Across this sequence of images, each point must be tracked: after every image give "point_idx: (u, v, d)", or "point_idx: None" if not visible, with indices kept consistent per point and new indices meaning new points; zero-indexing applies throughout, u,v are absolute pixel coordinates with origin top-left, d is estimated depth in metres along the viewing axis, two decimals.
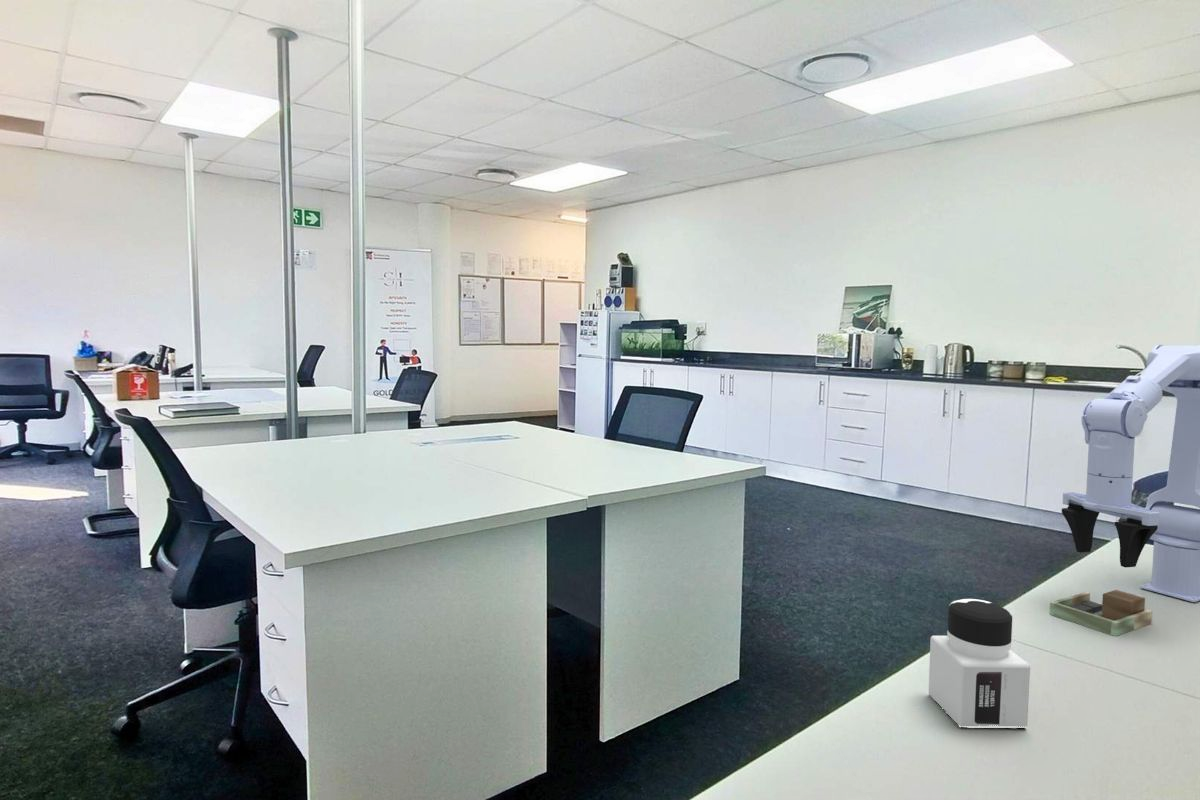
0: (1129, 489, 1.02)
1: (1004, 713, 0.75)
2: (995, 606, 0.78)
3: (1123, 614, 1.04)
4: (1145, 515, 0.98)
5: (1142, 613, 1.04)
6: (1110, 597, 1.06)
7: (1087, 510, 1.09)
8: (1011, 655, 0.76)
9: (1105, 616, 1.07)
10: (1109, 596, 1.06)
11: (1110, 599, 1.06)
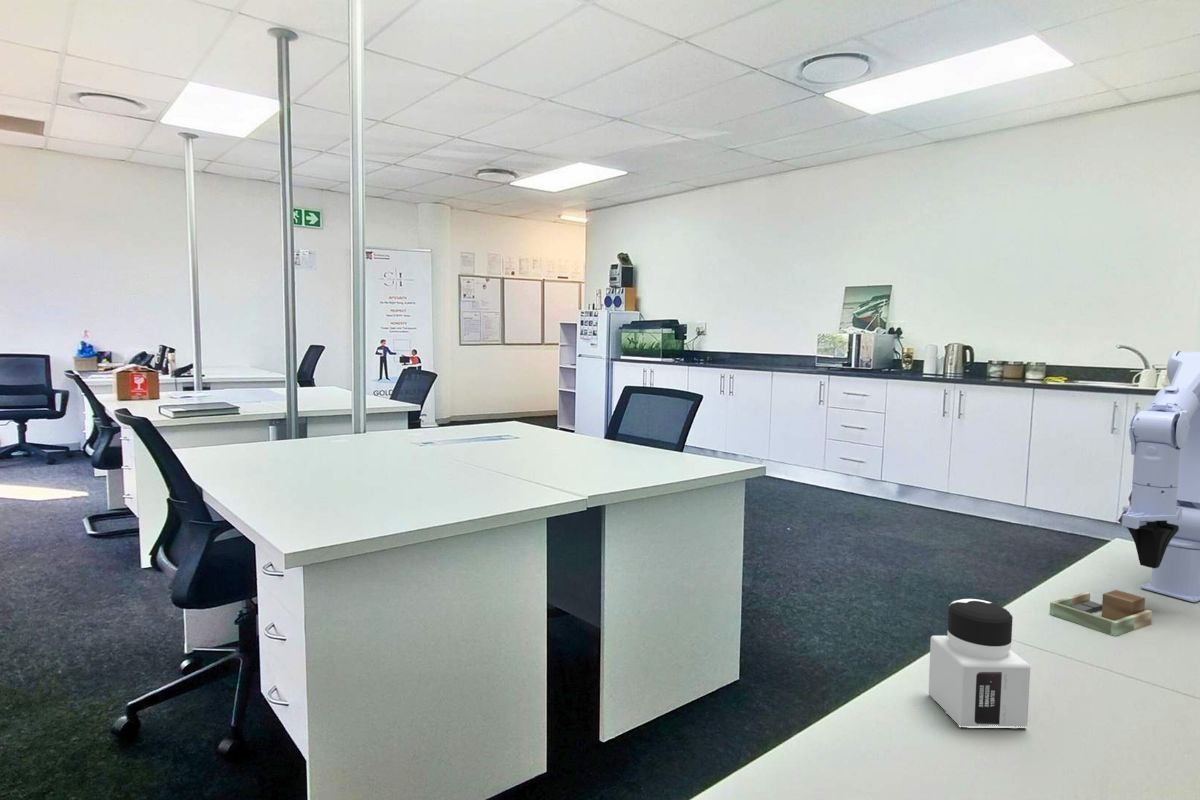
0: (1150, 498, 1.06)
1: (1004, 713, 0.75)
2: (996, 606, 0.78)
3: (1123, 614, 1.04)
4: None
5: (1142, 613, 1.04)
6: (1110, 597, 1.06)
7: None
8: (1011, 655, 0.76)
9: (1105, 616, 1.07)
10: (1109, 596, 1.06)
11: (1110, 599, 1.06)
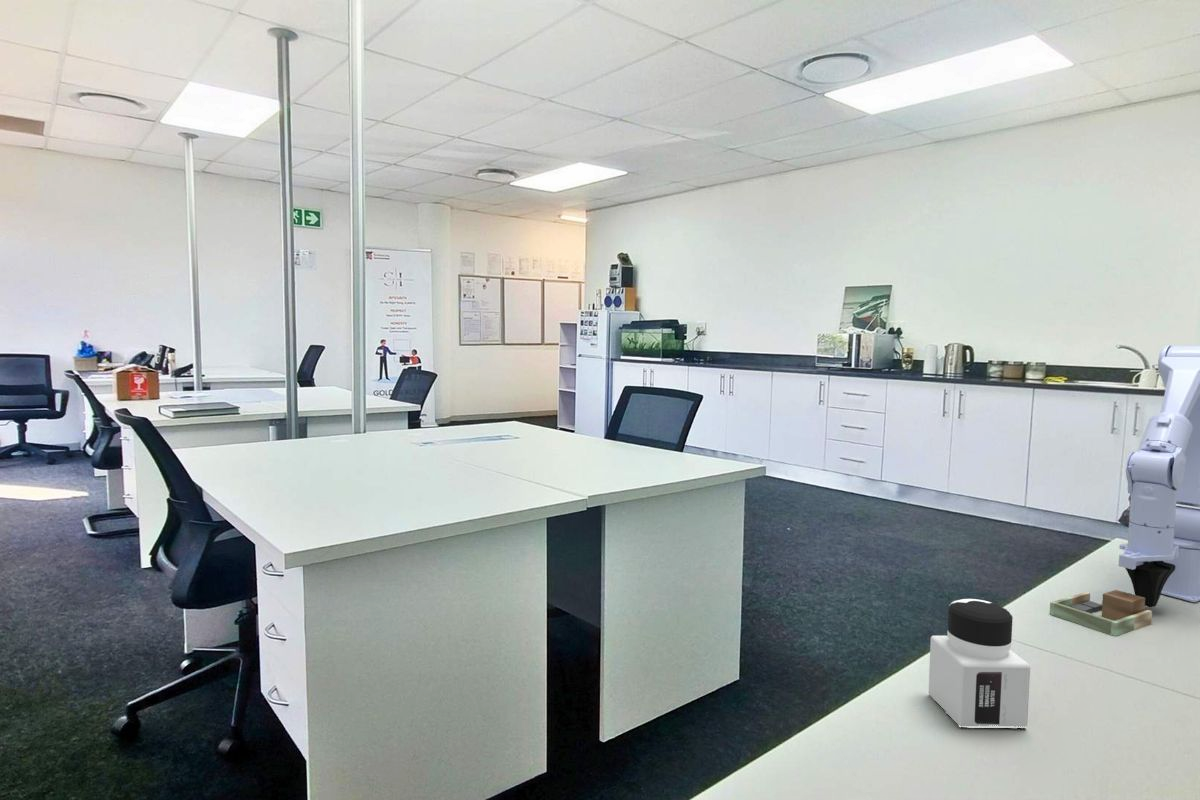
0: (1147, 538, 1.07)
1: (1004, 713, 0.75)
2: (996, 606, 0.78)
3: (1123, 614, 1.04)
4: None
5: (1142, 613, 1.04)
6: (1110, 597, 1.06)
7: None
8: (1011, 655, 0.76)
9: (1105, 616, 1.07)
10: (1109, 596, 1.06)
11: (1110, 599, 1.06)
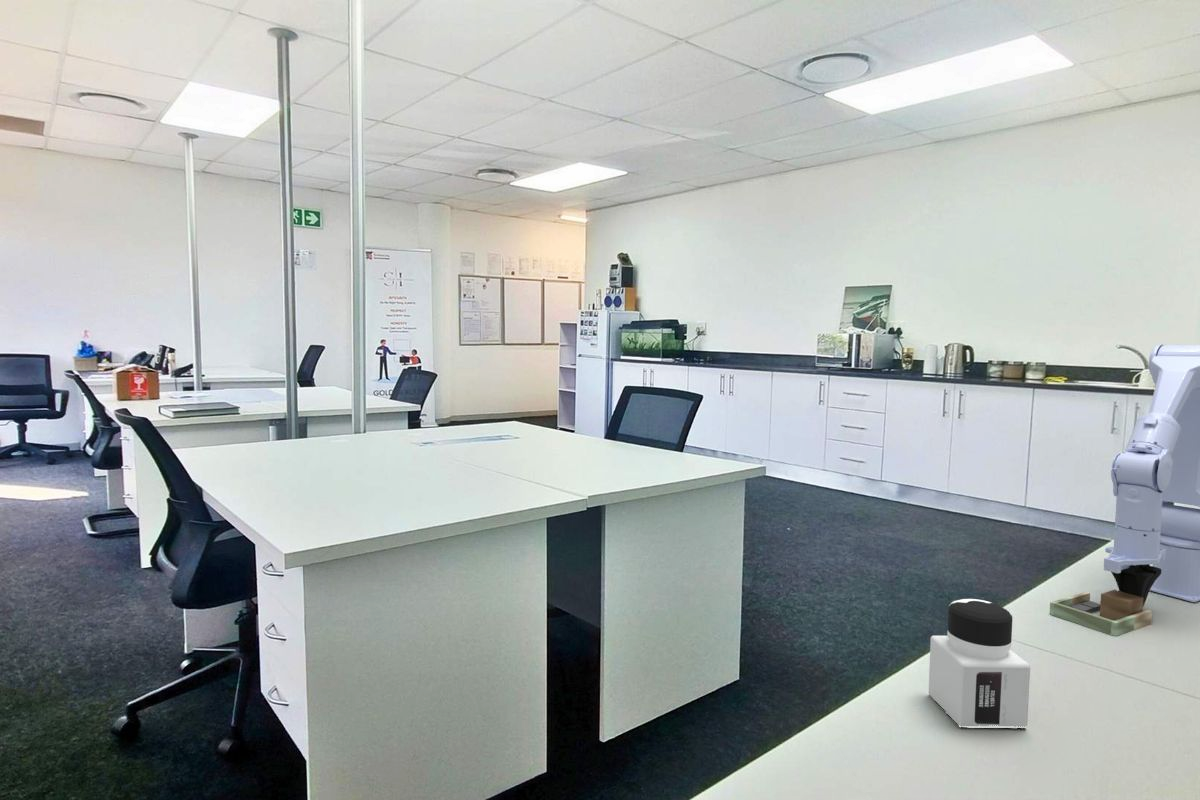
0: (1132, 541, 1.05)
1: (1004, 713, 0.75)
2: (996, 606, 0.78)
3: (1121, 614, 1.04)
4: None
5: (1142, 613, 1.04)
6: (1109, 597, 1.06)
7: None
8: (1011, 655, 0.76)
9: (1103, 616, 1.06)
10: (1107, 595, 1.06)
11: (1108, 599, 1.06)
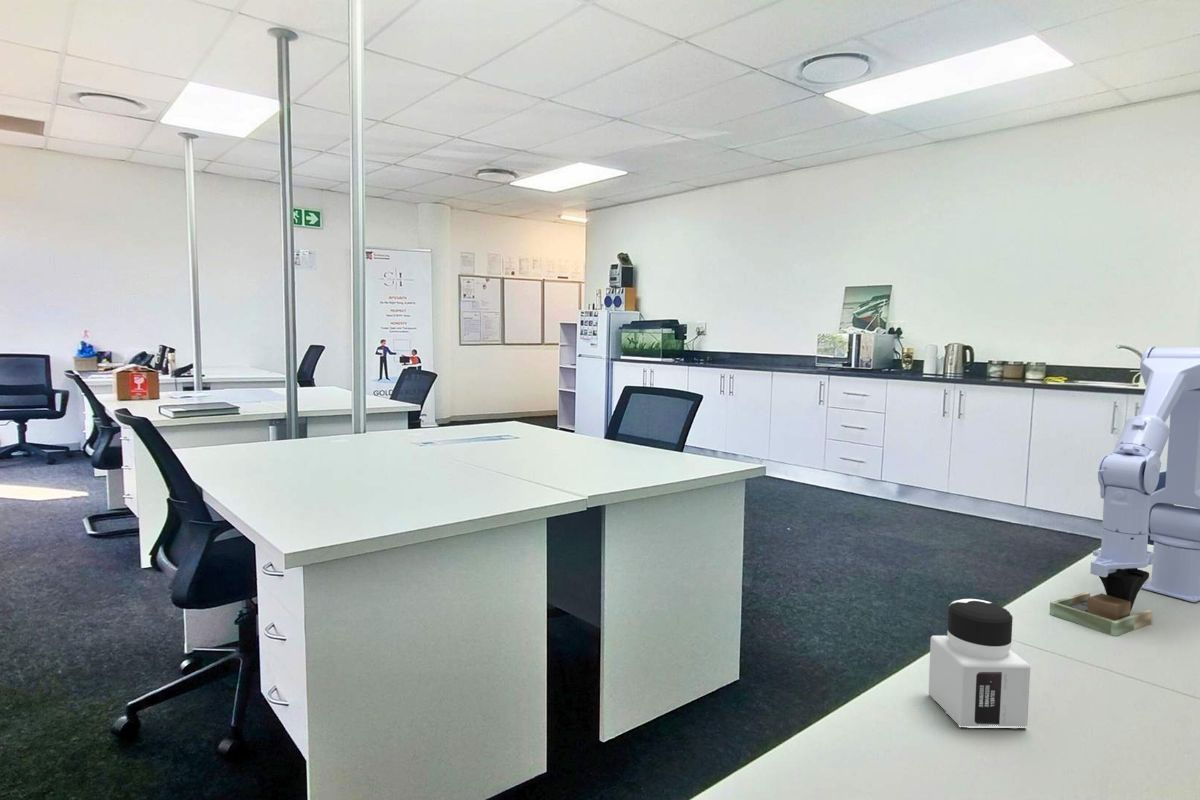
0: (1119, 544, 1.03)
1: (1004, 713, 0.75)
2: (996, 606, 0.78)
3: (1108, 618, 1.02)
4: None
5: (1142, 613, 1.04)
6: (1096, 601, 1.04)
7: None
8: (1011, 655, 0.76)
9: None
10: (1094, 599, 1.04)
11: (1095, 603, 1.04)
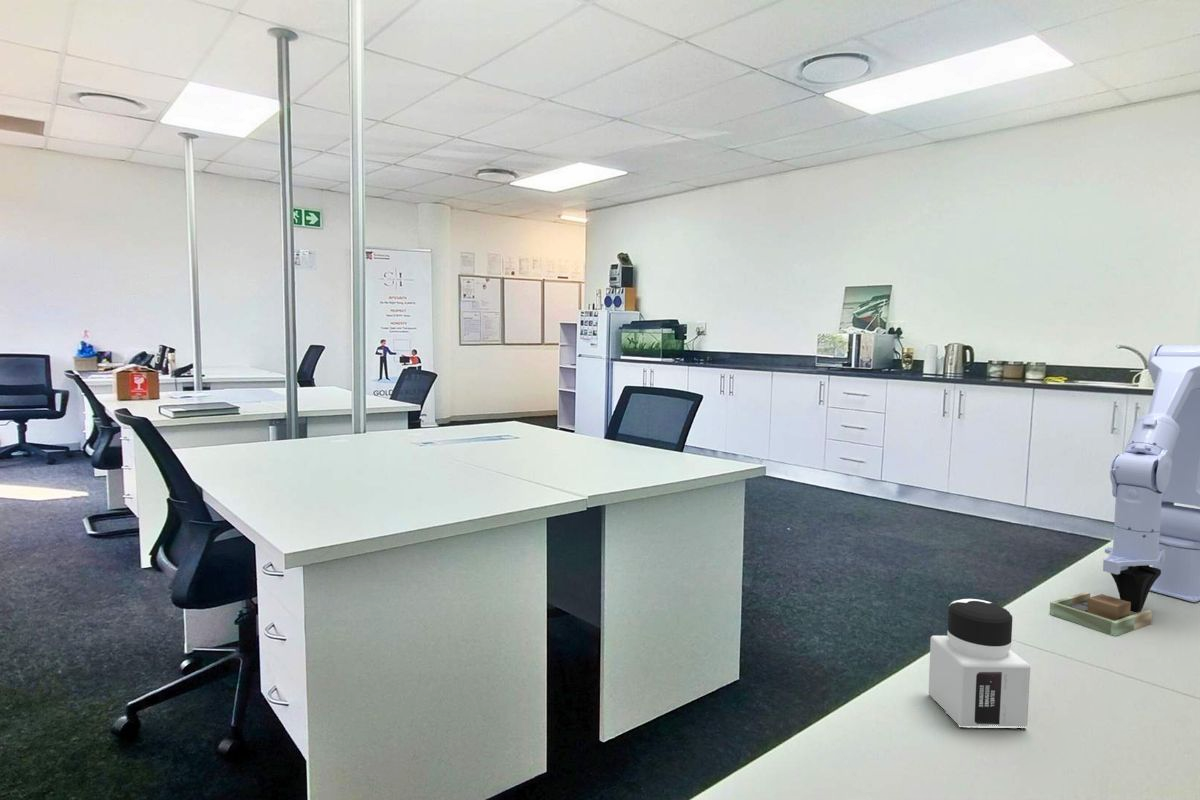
0: (1131, 542, 1.05)
1: (1004, 713, 0.75)
2: (996, 606, 0.78)
3: (1108, 618, 1.02)
4: None
5: (1142, 613, 1.04)
6: (1095, 602, 1.04)
7: None
8: (1011, 655, 0.76)
9: None
10: (1094, 600, 1.04)
11: (1095, 603, 1.04)
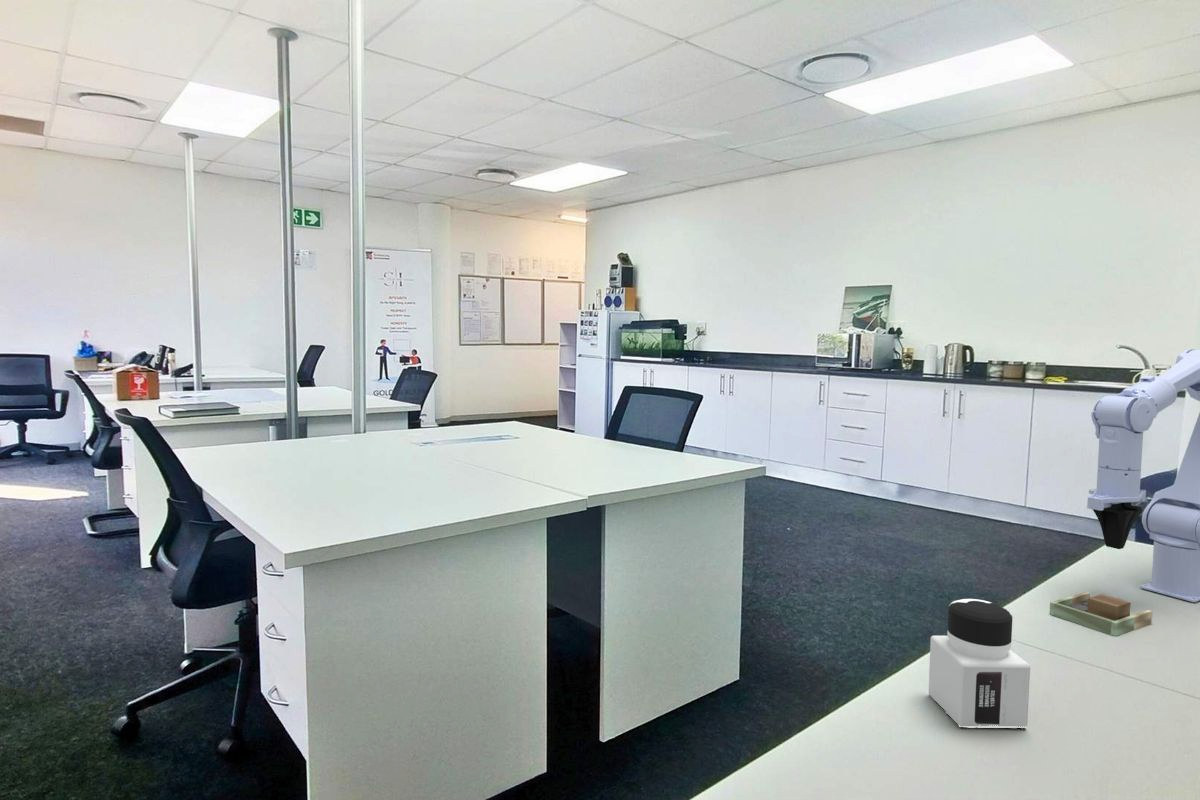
0: (1114, 480, 1.09)
1: (1004, 713, 0.75)
2: (996, 606, 0.78)
3: (1108, 618, 1.02)
4: None
5: (1142, 613, 1.04)
6: (1095, 602, 1.04)
7: None
8: (1011, 655, 0.76)
9: None
10: (1094, 600, 1.04)
11: (1095, 603, 1.04)
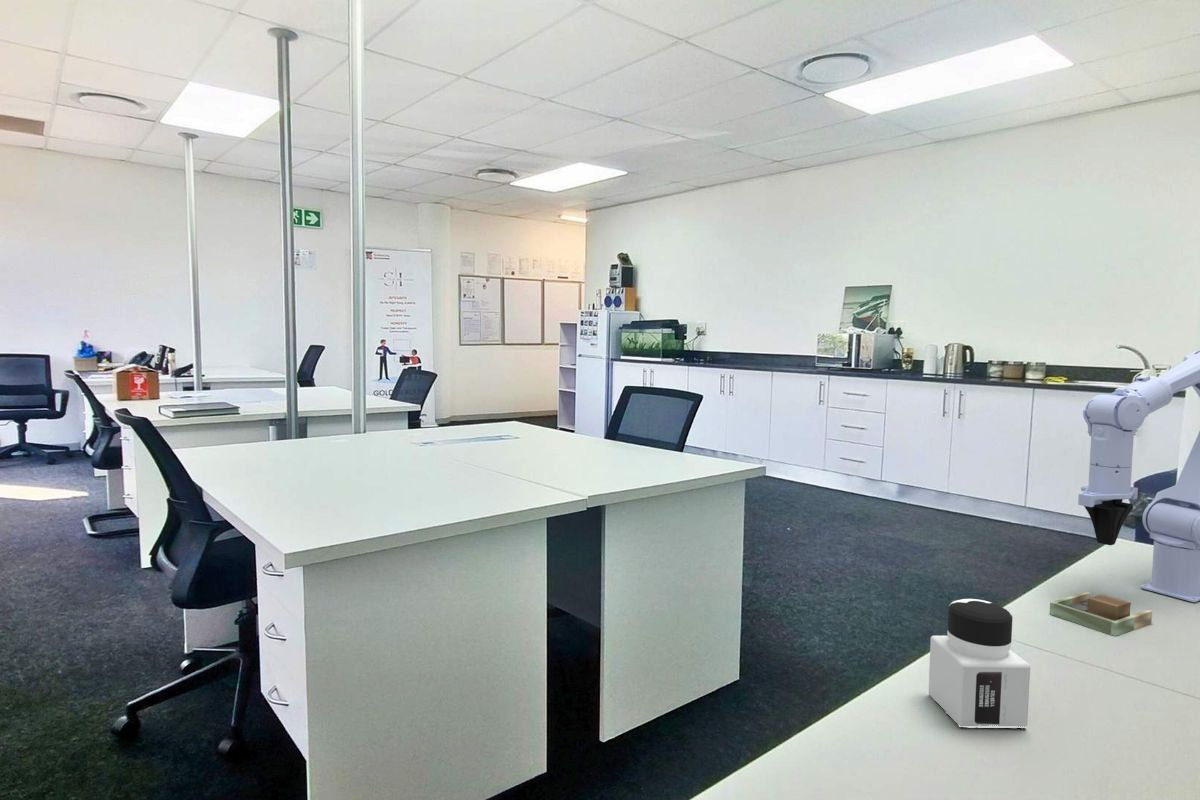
0: (1105, 477, 1.11)
1: (1004, 713, 0.75)
2: (996, 606, 0.78)
3: (1108, 618, 1.02)
4: None
5: (1142, 613, 1.04)
6: (1095, 602, 1.04)
7: None
8: (1011, 655, 0.76)
9: None
10: (1094, 600, 1.04)
11: (1095, 603, 1.04)
